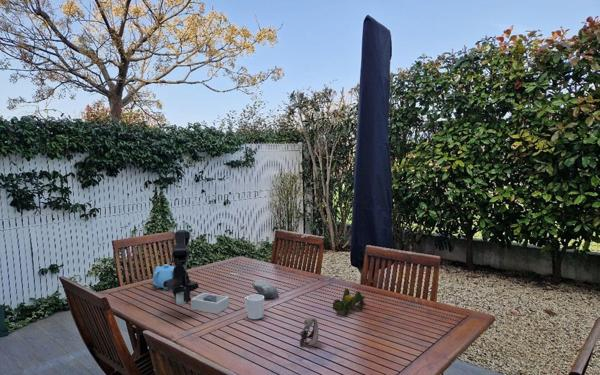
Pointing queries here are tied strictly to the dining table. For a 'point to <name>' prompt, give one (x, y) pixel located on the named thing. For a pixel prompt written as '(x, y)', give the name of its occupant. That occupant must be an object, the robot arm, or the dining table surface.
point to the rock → (265, 289)
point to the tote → (210, 303)
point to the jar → (180, 298)
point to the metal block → (210, 298)
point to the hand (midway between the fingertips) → (181, 300)
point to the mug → (255, 306)
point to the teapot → (162, 275)
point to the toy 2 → (348, 302)
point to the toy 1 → (314, 333)
